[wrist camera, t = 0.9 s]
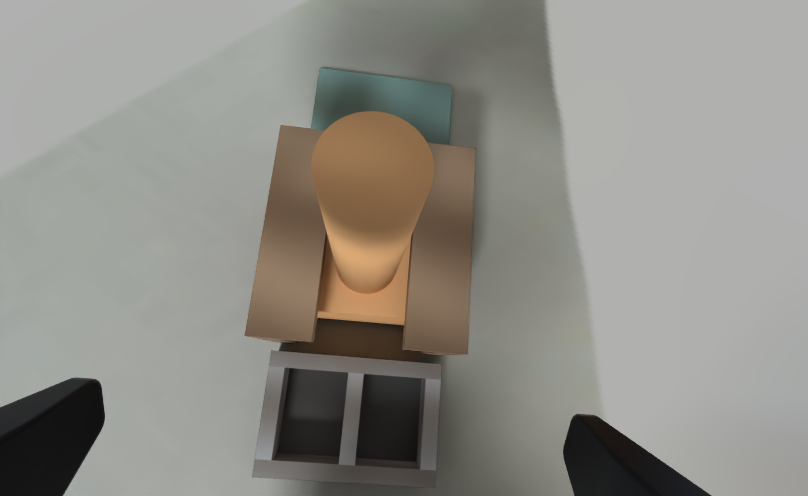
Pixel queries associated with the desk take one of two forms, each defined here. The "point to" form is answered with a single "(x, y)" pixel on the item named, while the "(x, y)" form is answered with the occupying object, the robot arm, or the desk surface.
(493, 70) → the desk surface
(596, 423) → the robot arm
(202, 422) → the desk surface
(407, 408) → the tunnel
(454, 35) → the desk surface
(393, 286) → the slider
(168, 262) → the desk surface
